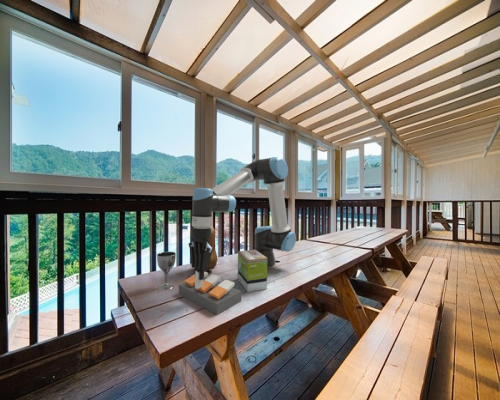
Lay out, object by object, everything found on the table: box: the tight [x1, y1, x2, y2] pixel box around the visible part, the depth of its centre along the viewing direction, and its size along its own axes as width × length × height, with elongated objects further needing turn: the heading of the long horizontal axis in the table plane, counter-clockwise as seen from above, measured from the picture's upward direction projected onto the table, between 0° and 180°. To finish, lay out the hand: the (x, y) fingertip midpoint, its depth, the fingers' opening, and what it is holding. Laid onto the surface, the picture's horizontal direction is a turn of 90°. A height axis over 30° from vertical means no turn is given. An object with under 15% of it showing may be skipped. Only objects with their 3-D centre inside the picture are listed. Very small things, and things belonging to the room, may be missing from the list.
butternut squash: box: [205, 226, 218, 272], centre depth 115 cm, size 14×13×25 cm
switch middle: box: [196, 273, 222, 293], centre depth 85 cm, size 9×5×2 cm, turn 141°
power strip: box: [178, 276, 242, 316], centre depth 89 cm, size 22×24×4 cm
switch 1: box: [183, 271, 209, 286], centre depth 90 cm, size 9×5×2 cm, turn 141°
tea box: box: [237, 249, 268, 293], centre depth 100 cm, size 15×10×15 cm, turn 21°
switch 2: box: [209, 279, 236, 299], centre depth 80 cm, size 9×5×2 cm, turn 141°
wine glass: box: [156, 251, 176, 291], centre depth 95 cm, size 8×8×15 cm
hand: (198, 287), depth 81 cm, fingers closed
